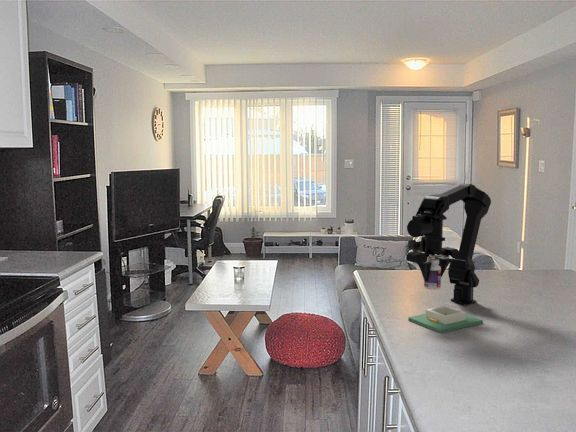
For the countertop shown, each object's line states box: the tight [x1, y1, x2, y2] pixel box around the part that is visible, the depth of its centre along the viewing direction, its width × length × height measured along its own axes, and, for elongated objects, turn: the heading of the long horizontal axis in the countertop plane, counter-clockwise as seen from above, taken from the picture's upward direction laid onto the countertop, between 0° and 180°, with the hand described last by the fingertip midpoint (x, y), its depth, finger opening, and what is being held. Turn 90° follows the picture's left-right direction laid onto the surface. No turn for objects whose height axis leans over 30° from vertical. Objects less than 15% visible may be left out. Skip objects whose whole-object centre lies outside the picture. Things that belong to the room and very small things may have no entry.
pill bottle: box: [423, 258, 442, 291], centre depth 180 cm, size 5×5×10 cm
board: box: [407, 305, 484, 334], centre depth 171 cm, size 18×14×4 cm
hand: (432, 280), depth 181 cm, fingers closed on pill bottle, 5 cm apart
